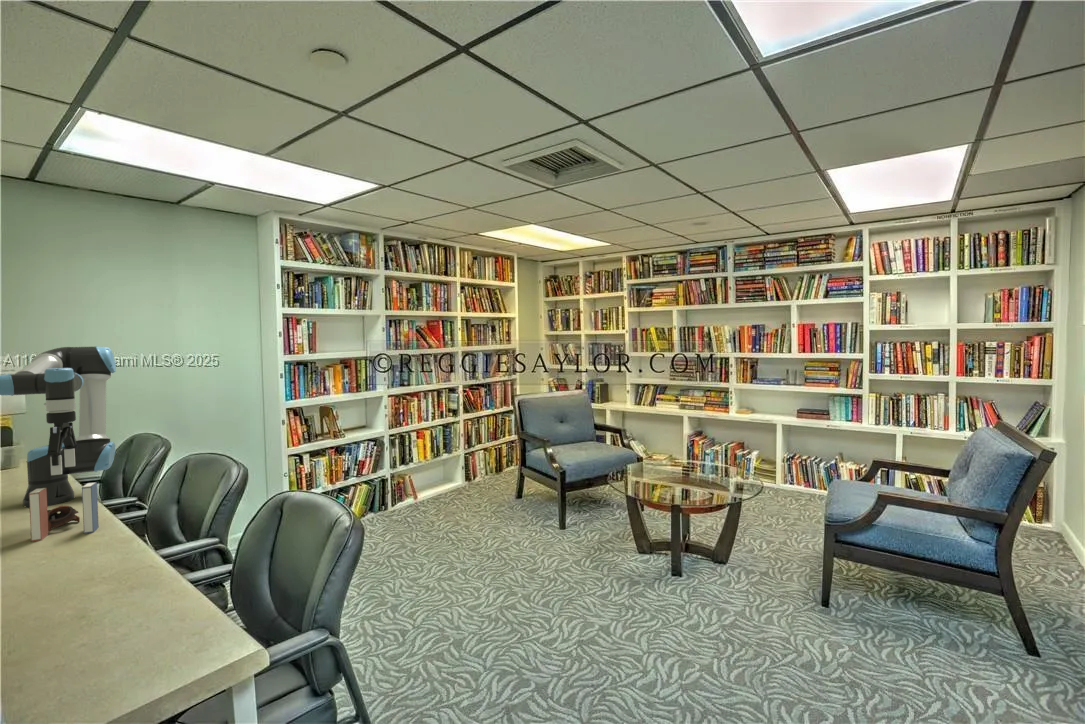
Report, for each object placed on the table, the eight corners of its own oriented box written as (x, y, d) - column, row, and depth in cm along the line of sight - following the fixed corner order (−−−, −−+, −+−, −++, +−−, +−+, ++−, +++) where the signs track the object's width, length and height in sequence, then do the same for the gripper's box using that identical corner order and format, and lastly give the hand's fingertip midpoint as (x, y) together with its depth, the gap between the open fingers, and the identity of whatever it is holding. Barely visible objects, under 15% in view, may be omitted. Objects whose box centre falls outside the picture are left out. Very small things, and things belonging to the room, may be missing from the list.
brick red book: (38, 535, 169) (36, 488, 169) (48, 534, 170) (46, 487, 170) (31, 541, 164) (28, 493, 163) (41, 540, 165) (39, 491, 164)
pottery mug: (90, 521, 183) (83, 505, 178) (65, 542, 174) (57, 525, 170) (59, 514, 183) (51, 498, 179) (32, 534, 175) (24, 518, 171)
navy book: (89, 528, 175) (87, 483, 175) (98, 527, 177) (96, 481, 176) (83, 534, 170) (81, 487, 170) (93, 532, 171) (91, 486, 171)
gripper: (59, 408, 187) (61, 464, 188) (32, 416, 165) (35, 479, 166) (85, 407, 191) (88, 462, 191) (62, 414, 169) (65, 476, 169)
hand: (63, 470), depth 179 cm, fingers open, 13 cm apart
